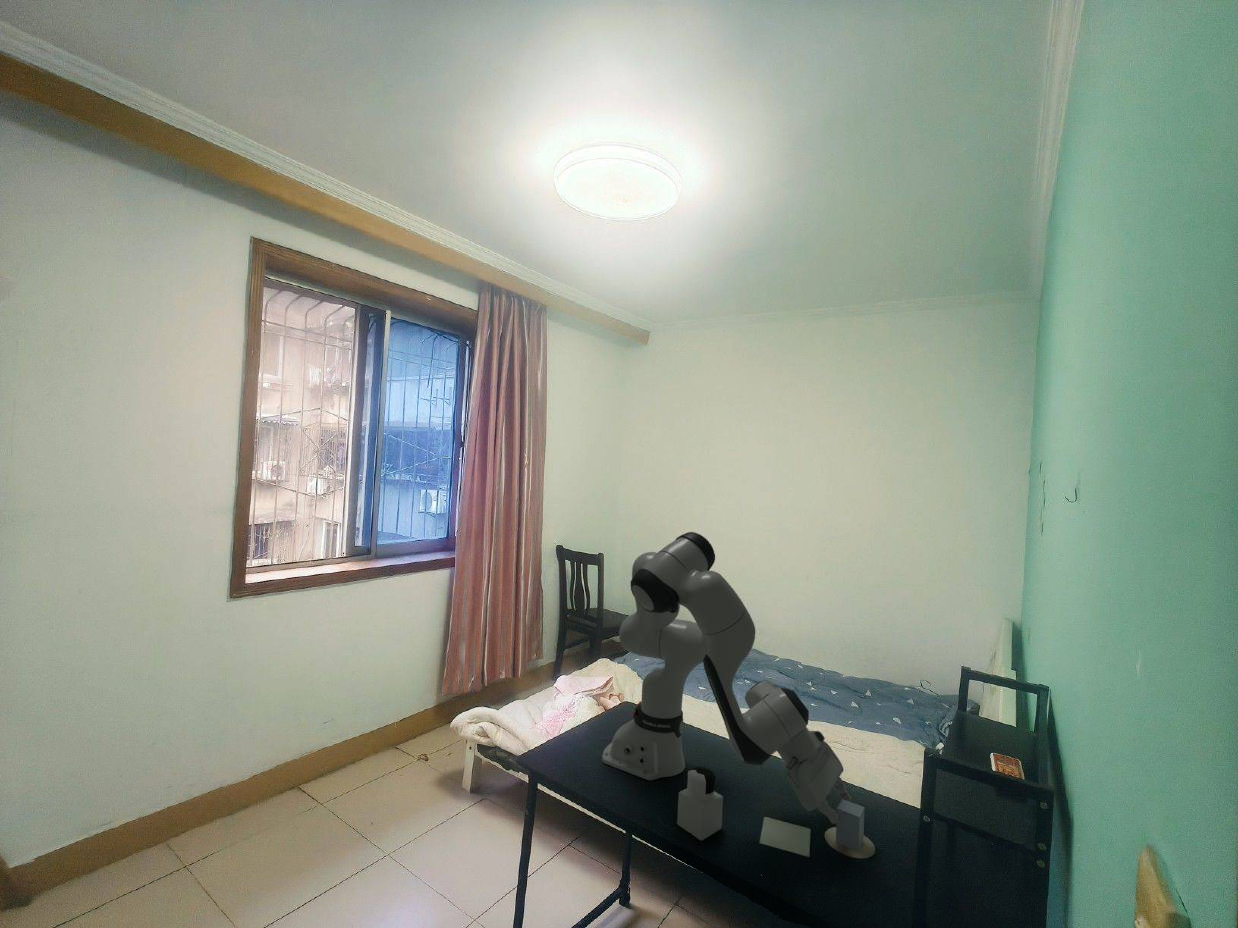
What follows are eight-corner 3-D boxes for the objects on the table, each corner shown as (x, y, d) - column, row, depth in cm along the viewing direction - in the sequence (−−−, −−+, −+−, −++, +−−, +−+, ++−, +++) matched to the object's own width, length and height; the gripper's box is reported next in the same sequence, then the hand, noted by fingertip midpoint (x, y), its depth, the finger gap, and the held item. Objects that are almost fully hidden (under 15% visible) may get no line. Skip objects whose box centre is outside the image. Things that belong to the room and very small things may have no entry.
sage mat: (759, 843, 113) (759, 842, 113) (764, 817, 122) (764, 816, 122) (809, 857, 109) (809, 856, 109) (810, 829, 119) (810, 828, 119)
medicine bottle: (697, 812, 123) (699, 759, 123) (722, 828, 117) (724, 773, 118) (676, 824, 118) (679, 769, 118) (701, 841, 113) (703, 783, 113)
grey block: (835, 842, 114) (836, 808, 115) (841, 831, 118) (842, 798, 118) (858, 852, 112) (859, 816, 112) (863, 841, 115) (864, 807, 116)
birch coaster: (824, 850, 112) (824, 849, 112) (824, 823, 121) (824, 822, 121) (877, 864, 108) (877, 863, 108) (872, 835, 118) (872, 834, 118)
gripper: (794, 760, 112) (841, 827, 106) (822, 728, 129) (864, 785, 122) (773, 774, 115) (817, 840, 109) (803, 741, 131) (843, 797, 125)
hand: (842, 811), depth 116 cm, fingers open, 8 cm apart
